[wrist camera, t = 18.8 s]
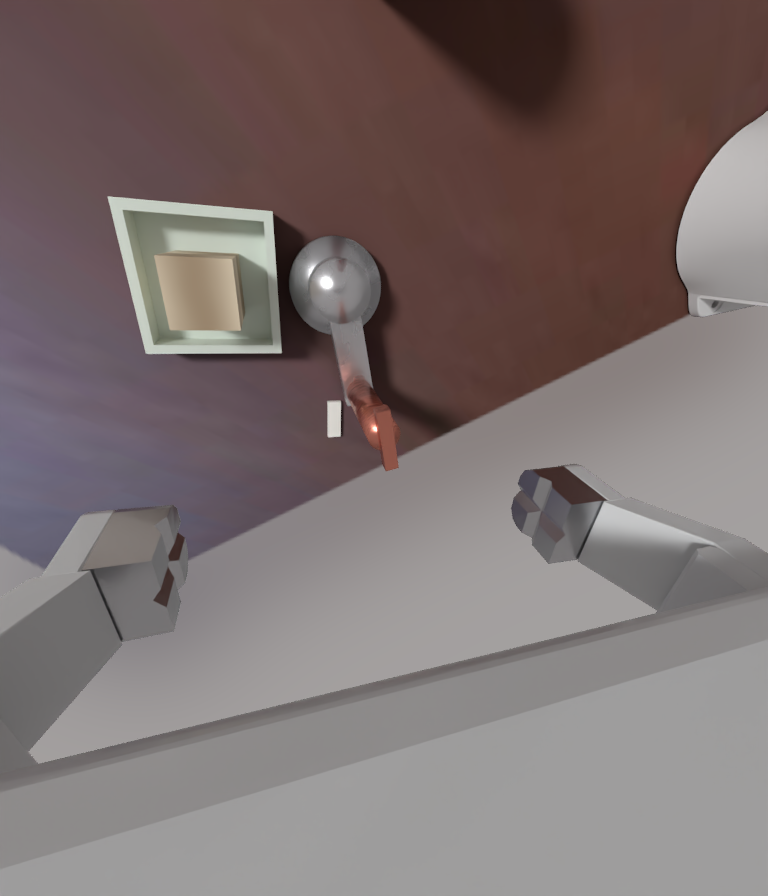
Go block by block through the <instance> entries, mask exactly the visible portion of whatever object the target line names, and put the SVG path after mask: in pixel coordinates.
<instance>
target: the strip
mask: <svg viewBox="0 0 768 896" xmlns="http://www.w3.org/2000/svg"><path fill="white" fill-rule="evenodd" d="M327 406H328V437H340V436H341V400H339V401H327Z"/></svg>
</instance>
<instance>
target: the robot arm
mask: <svg viewBox="0 0 768 896" xmlns="http://www.w3.org/2000/svg"><path fill="white" fill-rule="evenodd" d="M676 260H677V267H678V271H679V274H680V277H681V279H682V281H683V282H684V284H685V286H686V288H687V290H688V305H689V312H690V315H691V316H695V317H706V316H711V315H715V314H720V313H724V312H728V311H733V310H737V309H742V308H746V307H751V306H755V305H757V306H765V307H768V111H767V112H766V113H764V114H763V115H762V116H761V117H759V118H758V119H757V120H755V121H754V122H752V123H750V124H749V125H747V126H746V127H744V128H743V129H742V130H740V131H739V132H738V133H737V134H736V135H734V136H733V137H732V138H731V139H730V140H729V141H728V142H727V143H726V144H725V145H724V146H723V147H722V148H721V150H720V151H719V152H718V153H717V154H716V156H715V157H714V158H713V159H712V161H711V162H710V163H709V165H708V166H707V168H706V169H705V171H704V172H703V174H702V175H701V177H700V179H699V181H698V182H697V184H696V186H695V188H694V190H693V192H692V194H691V196H690V198H689V201H688V203H687V205H686V208H685V211H684V214H683V217H682V220H681V224H680V228H679V232H678V238H677V247H676ZM518 485H519V487H520V489H521V491H520V492H519V493H518V494H517V495H516V496H515V497H514V500H513V504H512V508H511V509H512V516H513V520H514V522H515V524H516V526H517V527H518V529H519V530H520V531H521V532H522V533H524V534H526V535H528V536H530V537H531V538H532V545H533V546H534V547H535V549H536V550H537V551H538V552H539V553H540V555H541V556H542V557H543V558H544V559H545V560H546V562H547V563H548V564H550V563H556V562H564V561H571V560H577V559H578V562H580V563H581V564H583V565H585V566H586V567H588V568H590V569H591V570H593V571H594V572H596V573H598V574H599V575H601V576H602V577H604V578H606V579H607V580H609V581H610V582H612V583H614V584H615V585H617V586H619V587H620V588H622V589H623V590H625V591H627V592H628V593H630V594H631V595H633V596H635V597H636V598H638V599H640V600H641V601H643V602H645V603H646V604H648V605H649V606H651V607H652V608H654V609H656V610H657V612H656V613H655V614H651V615H647V616H643V617H639V618H635V619H631V620H627V621H623V622H619V623H615V624H610V625H606V626H602V627H598V628H594V629H590V630H586V631H582V632H578V633H574V634H570V635H566V636H562V637H557V638H554V639H549V640H545V641H541V642H537V643H533V644H529V645H525V646H521V647H517V648H513V649H509V650H504V651H501V652H496V653H492V654H489V655H484V656H480V657H476V658H472V659H468V660H464V661H459V662H455V663H452V664H447V665H443V666H439V667H435V668H431V669H427V670H422V671H418V672H414V673H410V674H406V675H402V676H398V677H393V678H389V679H386V680H381V681H377V682H373V683H369V684H365V685H360V686H357V687H353V688H348V689H344V690H340V691H336V692H332V693H328V694H324V695H320V696H315V697H311V698H307V699H303V700H300V701H295V702H291V703H287V704H283V705H278V706H275V707H270V708H266V709H262V710H258V711H254V712H250V713H246V714H241V715H237V716H233V717H229V718H225V719H221V720H217V721H213V722H209V723H205V724H200V725H196V726H193V727H188V728H184V729H180V730H176V731H172V732H168V733H164V734H160V735H155V736H152V737H148V738H143V739H139V740H135V741H131V742H127V743H123V744H118V745H115V746H110V747H106V748H102V749H98V750H94V751H90V752H86V753H81V754H77V755H73V756H70V757H65V758H61V759H57V760H53V761H49V762H45V763H41V764H38V763H37V762H36V761H35V760H34V758H33V757H32V756H31V754H29V752H28V751H29V750H30V749H31V748H32V747H33V746H34V744H35V743H36V742H37V741H38V740H39V739H40V738H41V737H42V735H43V734H44V733H45V732H46V731H47V730H48V729H49V727H50V726H51V725H52V724H53V723H54V722H55V721H56V720H57V718H58V717H59V716H60V715H61V714H62V713H63V712H64V710H65V709H66V708H67V707H68V706H69V705H70V704H71V702H72V701H73V700H74V699H75V698H76V697H77V696H78V694H79V693H80V692H81V691H82V690H83V689H84V688H85V687H86V685H87V684H88V683H89V682H90V681H91V680H92V678H93V677H94V676H95V675H96V674H97V673H98V672H99V671H100V669H101V668H102V667H103V666H104V665H105V664H106V663H107V661H108V660H109V659H110V658H111V657H112V656H113V655H114V653H115V652H116V651H117V650H118V649H119V648H120V647H121V646H122V642H124V641H129V640H133V639H139V638H144V637H148V636H153V635H158V634H163V633H168V632H173V631H174V629H175V625H176V620H177V616H178V612H179V608H180V603H181V600H180V597H179V593H178V589H180V588H181V587H182V586H183V585H184V584H185V581H186V576H187V571H188V552H187V545H186V541H185V538H184V537H183V536H182V535H180V534H179V533H177V532H178V529H179V525H180V522H181V521H180V517H179V514H178V510H177V508H176V507H175V506H174V505H167V506H155V507H142V508H130V509H118V510H107V511H97V512H88V513H86V514H84V515H82V516H81V517H80V518H79V519H78V521H77V522H76V524H75V525H74V527H73V528H72V530H71V532H70V533H69V535H68V536H67V538H66V539H65V541H64V542H63V544H62V545H61V547H60V548H59V550H58V551H57V553H56V554H55V556H54V557H53V559H52V561H51V562H50V564H49V565H48V567H47V568H46V570H45V571H44V573H43V574H42V576H41V577H37V578H30V579H28V580H27V581H25V582H24V583H22V584H21V585H19V586H17V587H16V588H14V589H13V590H11V591H10V592H8V593H6V594H5V595H3V596H2V597H0V896H768V553H766V552H765V551H763V550H762V549H760V548H759V547H757V546H755V545H754V544H752V543H751V542H749V541H748V540H746V539H745V538H742V537H739V536H736V535H733V534H730V533H728V532H725V531H722V530H720V529H716V528H714V527H711V526H708V525H706V524H703V523H700V522H697V521H694V520H692V519H688V518H686V517H683V516H680V515H678V514H675V513H672V512H669V511H667V510H664V509H661V508H658V507H655V506H653V505H650V504H647V503H644V502H641V501H639V500H636V499H633V498H625V497H623V496H622V495H621V494H619V493H618V492H617V491H615V490H614V489H613V488H611V487H610V486H608V485H607V484H606V483H605V482H603V481H602V480H600V479H599V478H597V477H596V476H595V475H594V474H592V473H591V472H590V471H588V470H587V469H585V468H584V467H583V466H581V465H577V464H570V465H563V466H558V467H551V468H542V469H533V470H525V471H524V472H523V473H522V475H521V476H520V479H519V482H518Z"/></svg>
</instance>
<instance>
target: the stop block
mask: <svg viewBox="0 0 768 896" xmlns="http://www.w3.org/2000/svg"><path fill="white" fill-rule="evenodd" d="M154 258H155V263H156V268H157V272H158V277H159V282H160V286H161V291H162V296H163V301H164V305H165V310H166V315H167V319H168V324H169V329H170V330H212V331H241V328H242V324H243V320H244V316H245V306H244V297H243V288H242V280H241V271H240V262H239V254H236V253H218V252H200V251H181V250H175V251H170V252H166V253H161V254H157V255H154Z"/></svg>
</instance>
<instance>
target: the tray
mask: <svg viewBox="0 0 768 896" xmlns="http://www.w3.org/2000/svg"><path fill="white" fill-rule="evenodd" d="M108 200H109V204H110V208H111V212H112V216H113V220H114V225H115V229H116V233H117V237H118V241H119V245H120V249H121V253H122V257H123V261H124V266H125V270H126V274H127V278H128V282H129V286H130V290H131V294H132V298H133V302H134V307H135V311H136V315H137V319H138V323H139V327H140V331H141V335H142V339H143V343H144V348H145V352H146V354H224V353H282V348H281V333H280V318H279V302H278V287H277V272H276V257H275V241H274V226H273V211H262V210H251V209H240V208H229V207H218V206H207V205H196V204H185V203H174V202H163V201H152V200H141V199H130V198H119V197H108ZM175 250H181V251H200V252H218V253H236V254H239V262H240V271H241V280H242V288H243V297H244V306H245V316H244V320H243V324H242V328H241V331H212V330H170V329H169V324H168V319H167V315H166V310H165V305H164V301H163V296H162V291H161V286H160V282H159V277H158V272H157V268H156V263H155V258H154V255H157V254H161V253H166V252H170V251H175Z"/></svg>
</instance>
